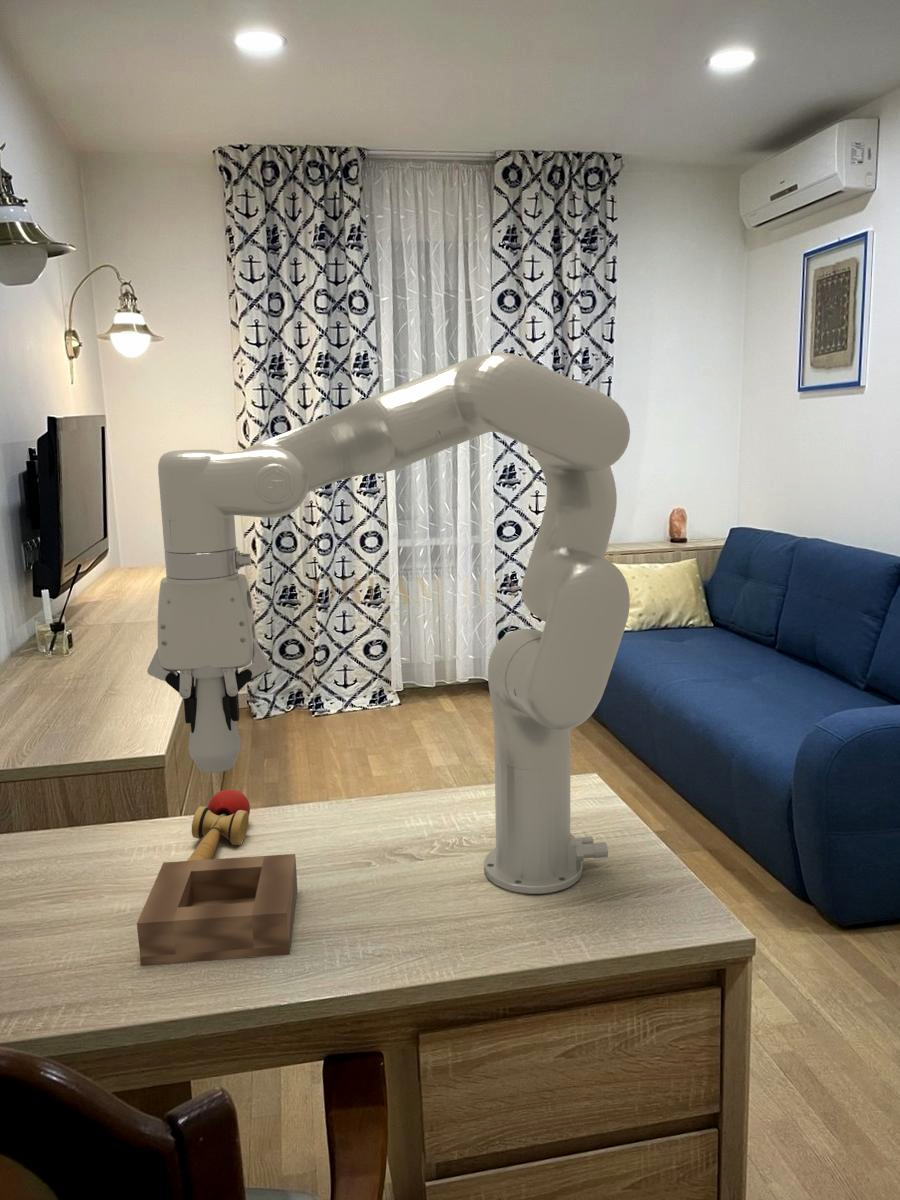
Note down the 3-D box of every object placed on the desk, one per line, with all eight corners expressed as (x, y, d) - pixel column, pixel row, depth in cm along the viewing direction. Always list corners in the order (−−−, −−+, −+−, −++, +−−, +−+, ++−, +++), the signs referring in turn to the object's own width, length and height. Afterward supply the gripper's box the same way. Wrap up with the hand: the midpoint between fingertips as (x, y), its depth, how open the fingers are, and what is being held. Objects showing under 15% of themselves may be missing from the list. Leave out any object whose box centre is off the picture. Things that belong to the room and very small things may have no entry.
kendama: (232, 889, 121) (266, 812, 138) (217, 847, 119) (253, 775, 136) (175, 897, 122) (216, 820, 139) (160, 857, 120) (203, 783, 137)
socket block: (297, 890, 117) (295, 853, 116) (289, 954, 103) (286, 912, 102) (166, 899, 115) (163, 862, 114) (140, 965, 102) (136, 923, 101)
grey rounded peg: (229, 777, 102) (221, 662, 99) (180, 774, 103) (171, 660, 100) (250, 758, 107) (243, 649, 105) (204, 755, 109) (196, 647, 106)
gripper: (281, 558, 105) (289, 714, 109) (132, 562, 104) (145, 721, 107) (275, 568, 98) (284, 735, 101) (115, 574, 96) (130, 743, 100)
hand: (213, 726), depth 104 cm, fingers closed on grey rounded peg, 3 cm apart
